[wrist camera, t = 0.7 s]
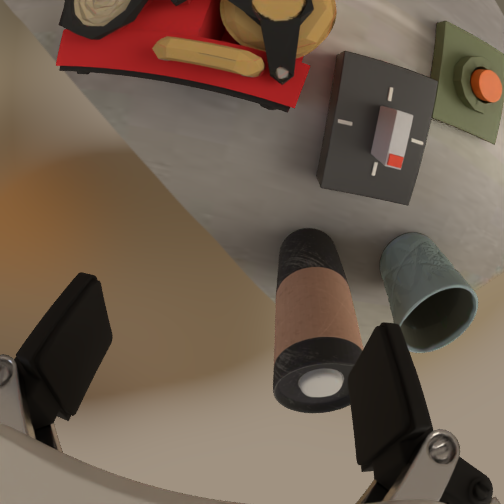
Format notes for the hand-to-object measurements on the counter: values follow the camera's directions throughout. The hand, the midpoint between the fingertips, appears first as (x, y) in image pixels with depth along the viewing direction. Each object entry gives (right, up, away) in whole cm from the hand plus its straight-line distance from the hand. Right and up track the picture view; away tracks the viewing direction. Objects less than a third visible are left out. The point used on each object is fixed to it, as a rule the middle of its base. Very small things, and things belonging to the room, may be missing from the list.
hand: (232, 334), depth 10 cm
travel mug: (+8, +3, +28) cm, 30 cm away
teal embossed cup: (+22, +2, +28) cm, 35 cm away
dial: (+13, +14, +16) cm, 25 cm away
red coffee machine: (-2, +25, +16) cm, 29 cm away
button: (+25, +20, +11) cm, 34 cm away
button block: (+25, +22, +14) cm, 37 cm away
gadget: (+13, +16, +19) cm, 29 cm away
